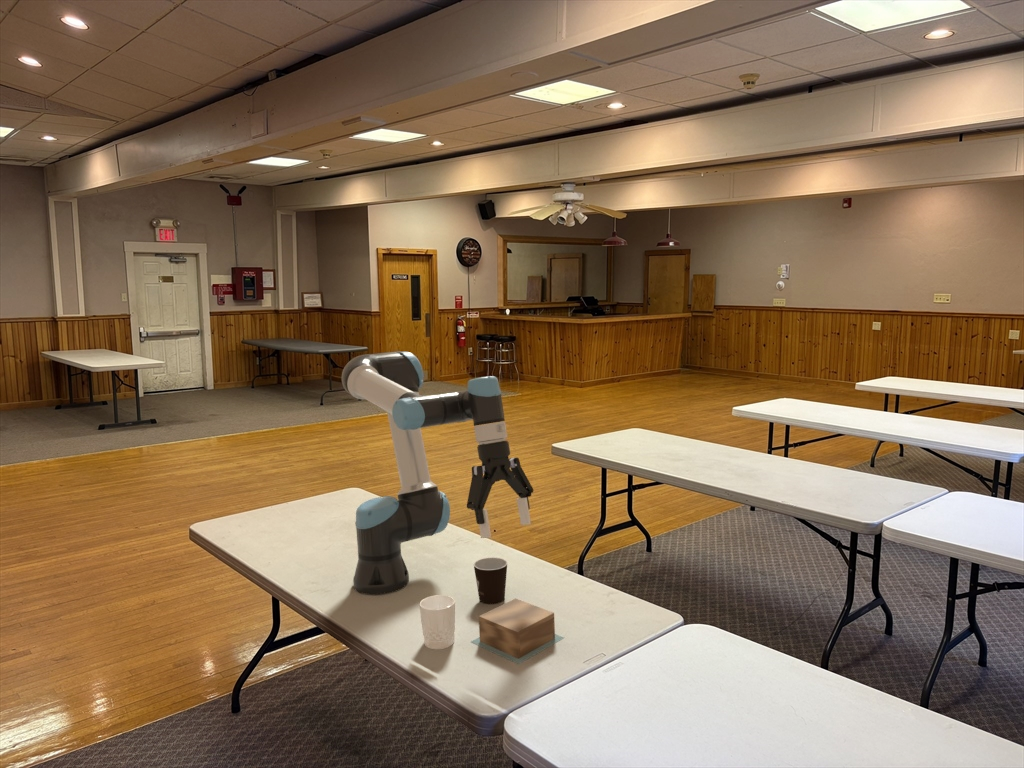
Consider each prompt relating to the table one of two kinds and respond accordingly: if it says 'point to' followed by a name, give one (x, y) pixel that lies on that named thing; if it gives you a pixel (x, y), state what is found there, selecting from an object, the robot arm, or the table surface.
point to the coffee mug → (491, 579)
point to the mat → (514, 659)
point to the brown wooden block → (516, 627)
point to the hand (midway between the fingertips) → (506, 531)
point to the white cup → (438, 621)
